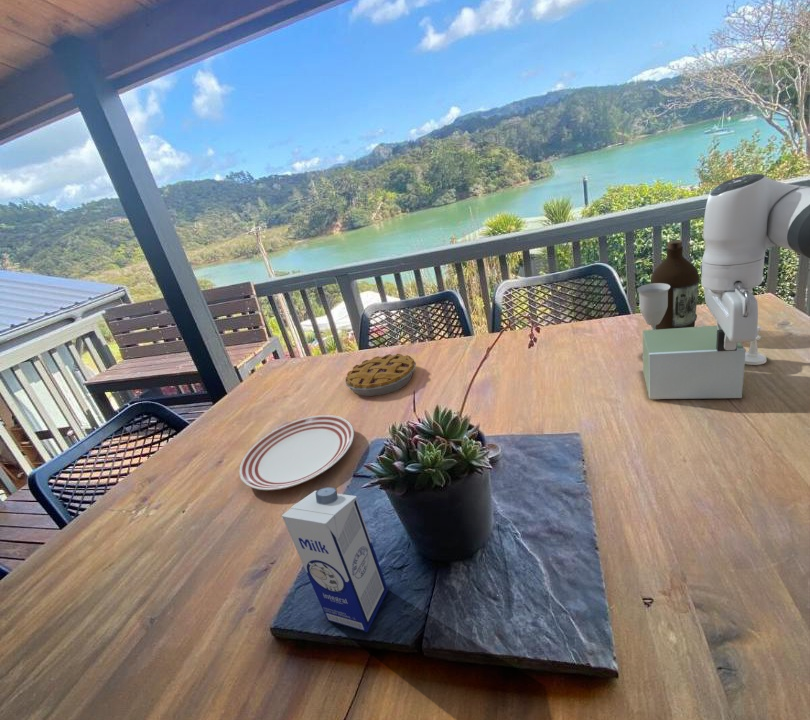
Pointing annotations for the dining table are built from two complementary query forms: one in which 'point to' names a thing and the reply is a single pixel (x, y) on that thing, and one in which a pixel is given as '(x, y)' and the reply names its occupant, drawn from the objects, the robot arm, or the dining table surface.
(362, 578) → the milk carton
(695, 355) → the sliding door
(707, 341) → the cabinet
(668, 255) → the dark brown necked cylinder
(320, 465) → the dinner plate
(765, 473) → the dining table surface
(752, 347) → the chess piece
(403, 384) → the pie
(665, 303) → the chalice
